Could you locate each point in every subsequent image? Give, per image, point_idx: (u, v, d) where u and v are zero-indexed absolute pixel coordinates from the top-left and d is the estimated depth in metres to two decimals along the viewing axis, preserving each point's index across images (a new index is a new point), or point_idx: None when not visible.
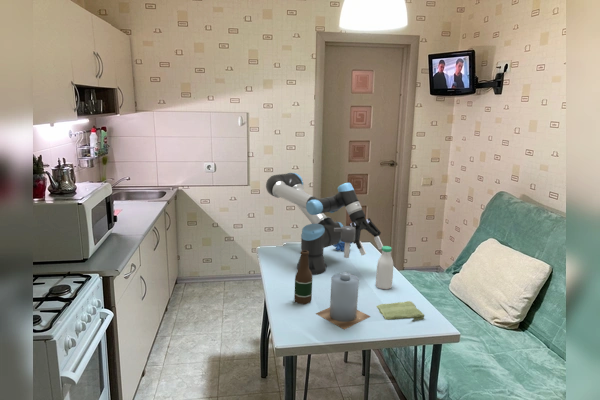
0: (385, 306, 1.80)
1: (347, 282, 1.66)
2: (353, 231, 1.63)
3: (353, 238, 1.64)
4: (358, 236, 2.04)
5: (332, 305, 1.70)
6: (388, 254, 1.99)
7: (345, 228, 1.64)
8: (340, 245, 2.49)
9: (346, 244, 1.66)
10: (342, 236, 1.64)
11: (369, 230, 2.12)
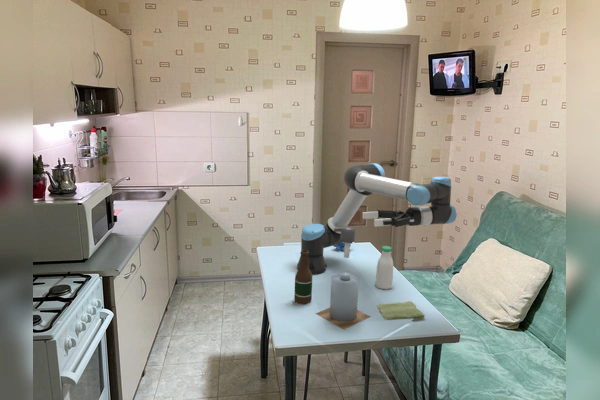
0: (385, 305, 1.80)
1: (347, 282, 1.66)
2: (353, 231, 1.63)
3: (353, 238, 1.64)
4: None
5: (332, 305, 1.70)
6: (388, 254, 1.99)
7: (345, 228, 1.64)
8: (340, 245, 2.49)
9: (346, 244, 1.66)
10: (342, 236, 1.64)
11: (389, 215, 1.75)
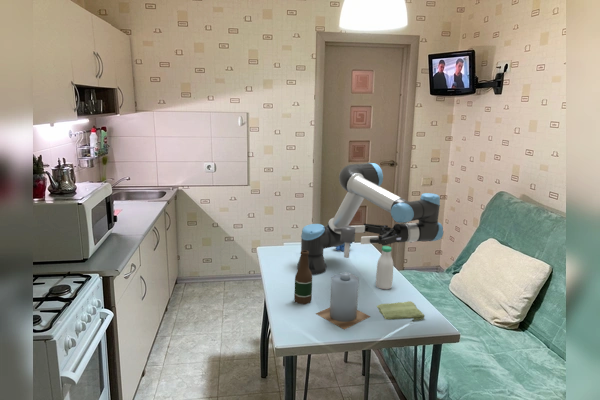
0: (385, 305, 1.80)
1: (347, 282, 1.66)
2: (353, 231, 1.63)
3: (353, 238, 1.64)
4: None
5: (332, 305, 1.70)
6: (388, 254, 1.99)
7: (345, 228, 1.64)
8: None
9: (346, 244, 1.66)
10: (342, 236, 1.64)
11: (376, 230, 1.72)
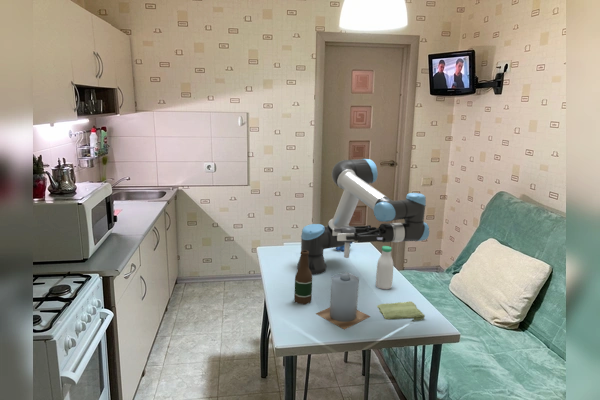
0: (386, 305, 1.80)
1: (347, 282, 1.66)
2: (353, 231, 1.63)
3: None
4: (360, 239, 1.63)
5: (332, 305, 1.70)
6: (388, 254, 1.99)
7: (345, 228, 1.64)
8: None
9: (346, 244, 1.66)
10: None
11: (361, 231, 1.69)
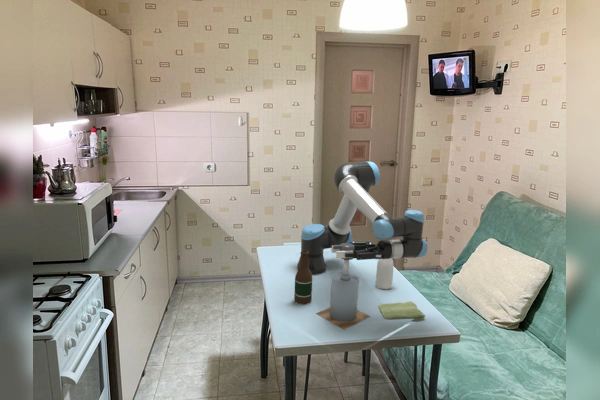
0: (386, 305, 1.80)
1: (347, 282, 1.66)
2: (352, 248, 1.65)
3: None
4: None
5: (332, 305, 1.70)
6: None
7: (344, 245, 1.66)
8: None
9: (345, 261, 1.67)
10: None
11: (360, 248, 1.71)
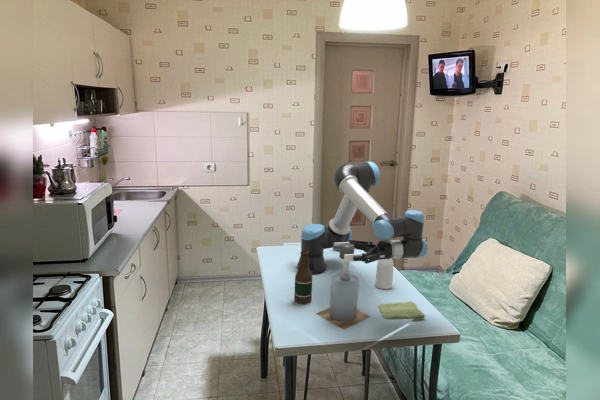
0: (386, 305, 1.80)
1: (347, 282, 1.66)
2: (352, 248, 1.65)
3: None
4: None
5: (332, 305, 1.70)
6: None
7: (344, 245, 1.66)
8: None
9: None
10: (341, 253, 1.66)
11: (360, 247, 1.73)
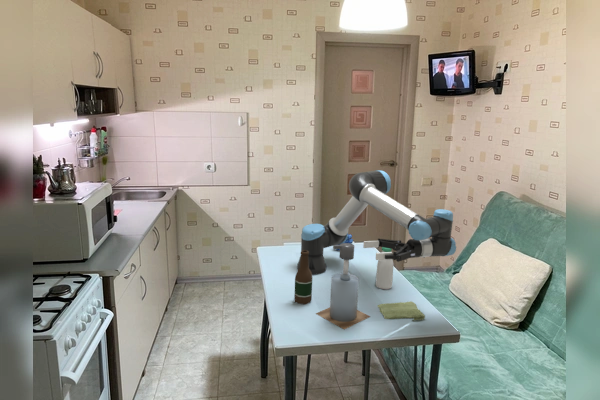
0: (386, 305, 1.81)
1: (347, 282, 1.66)
2: (352, 248, 1.65)
3: (352, 255, 1.66)
4: None
5: (332, 305, 1.70)
6: None
7: (344, 245, 1.66)
8: None
9: (345, 261, 1.67)
10: (341, 253, 1.66)
11: (389, 245, 1.75)
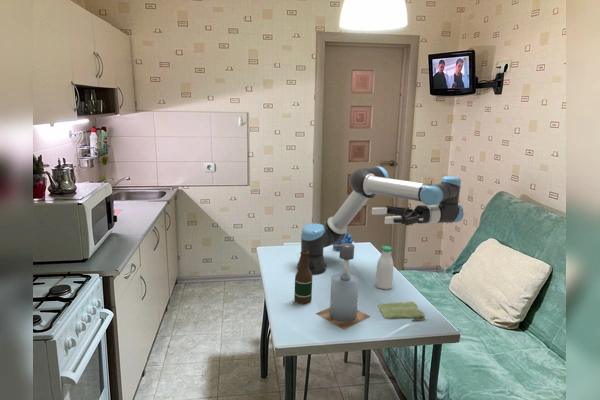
0: (386, 305, 1.81)
1: (347, 282, 1.66)
2: (352, 248, 1.65)
3: (352, 255, 1.66)
4: None
5: (332, 305, 1.70)
6: (388, 254, 1.99)
7: (344, 245, 1.66)
8: None
9: (345, 261, 1.67)
10: (341, 253, 1.66)
11: (398, 212, 1.77)
